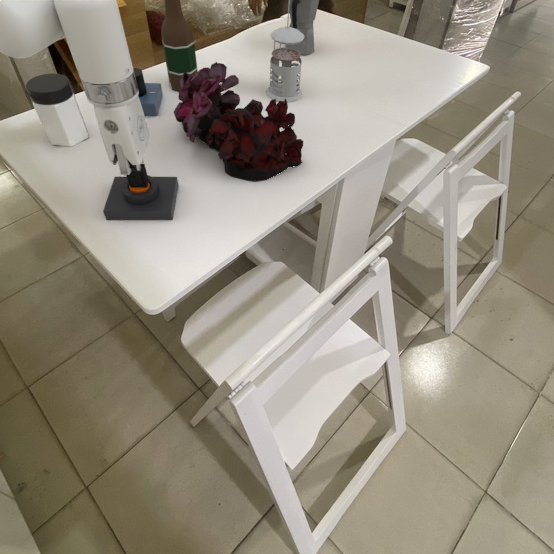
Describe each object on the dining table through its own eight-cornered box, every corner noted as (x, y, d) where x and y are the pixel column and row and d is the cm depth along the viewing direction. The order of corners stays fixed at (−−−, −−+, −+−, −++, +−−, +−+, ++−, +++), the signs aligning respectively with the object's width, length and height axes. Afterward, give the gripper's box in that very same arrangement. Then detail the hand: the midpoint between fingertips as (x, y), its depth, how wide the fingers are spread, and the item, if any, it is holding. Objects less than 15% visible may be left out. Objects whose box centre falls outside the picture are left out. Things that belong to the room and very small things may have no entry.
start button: (129, 198, 73) (127, 190, 72) (133, 185, 76) (130, 178, 74) (149, 198, 74) (147, 190, 72) (152, 185, 76) (150, 178, 75)
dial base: (106, 115, 95) (101, 102, 93) (114, 94, 101) (111, 81, 99) (157, 115, 96) (154, 103, 93) (162, 95, 102) (160, 82, 99)
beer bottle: (163, 84, 105) (143, -27, 86) (188, 75, 109) (173, -33, 90) (180, 96, 102) (163, -17, 83) (205, 86, 105) (194, -24, 86)
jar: (48, 129, 90) (23, 75, 81) (85, 122, 93) (66, 69, 83) (51, 151, 86) (25, 96, 76) (91, 143, 88) (71, 89, 78)
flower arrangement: (314, 154, 88) (323, 87, 77) (254, 198, 79) (254, 129, 67) (214, 104, 100) (209, 39, 88) (152, 136, 90) (136, 68, 78)
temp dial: (145, 97, 95) (140, 76, 91) (124, 97, 94) (118, 75, 90) (148, 87, 98) (143, 66, 94) (128, 87, 97) (122, 66, 93)
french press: (272, 104, 101) (275, -13, 81) (258, 83, 108) (259, -31, 88) (308, 99, 103) (320, -17, 84) (292, 78, 110) (300, -33, 90)
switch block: (106, 220, 73) (99, 203, 70) (117, 185, 79) (111, 168, 76) (172, 220, 74) (168, 203, 71) (178, 185, 80) (175, 169, 77)
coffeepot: (292, 38, 127) (297, -31, 113) (320, 44, 125) (328, -26, 111) (275, 57, 118) (277, -15, 103) (305, 64, 116) (311, -10, 102)
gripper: (126, 112, 54) (154, 212, 69) (144, 62, 64) (165, 160, 78) (70, 111, 54) (110, 212, 68) (96, 62, 63) (126, 160, 78)
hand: (139, 184), depth 73 cm, fingers closed
